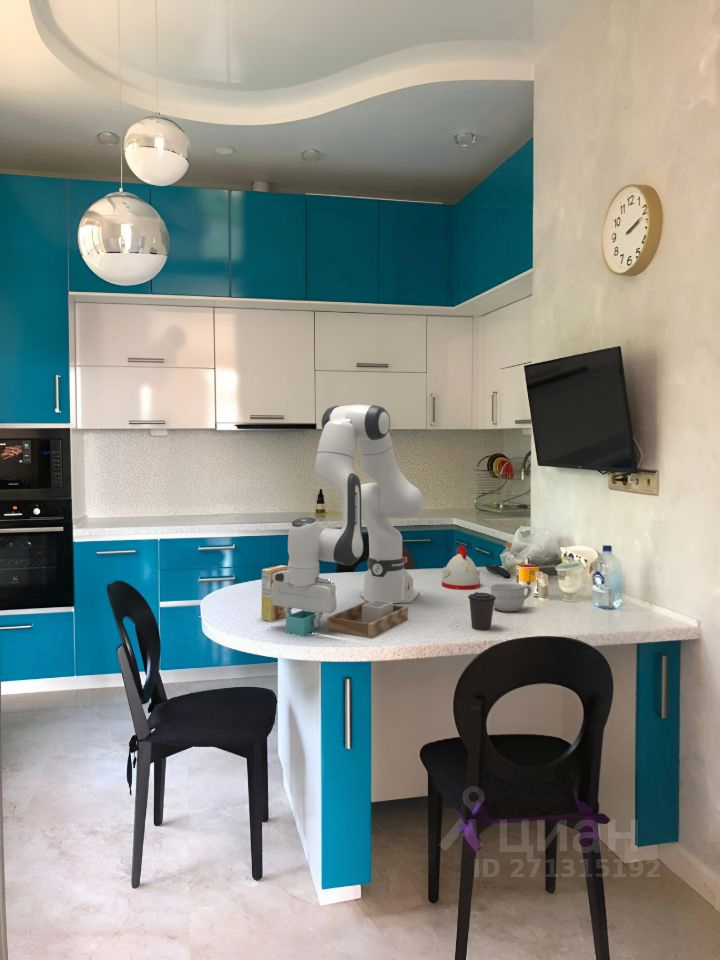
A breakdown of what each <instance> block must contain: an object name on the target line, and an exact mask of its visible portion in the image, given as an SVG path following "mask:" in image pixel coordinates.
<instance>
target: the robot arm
mask: <svg viewBox="0 0 720 960" xmlns="http://www.w3.org/2000/svg"><path fill="white" fill-rule="evenodd" d="M390 427H391V417H390V414H389V413H388V411H387V410H386V408H384V407H382V406H380V405H375V404H372V405H369V404H368V405H367V404H350V405H341V406H340V405H335V406H331V407H328V408H327V409H326V410H325V411H324V413H323V414H322V417H321V429H322V431H321V436H320V437H319V441H318V447H317V451H316V457H315V463H314V465H315V466H314V468H315V469H314V470H315V473H316V475H317V477H318V479H319V480H321V482H322V483H323V484H325V485H326V486H328V487H330V488H332V489H333V490H335V491H337V492H338V493H339V495H340V496H341V499H342V507H343V508H342V509H343V512H342V521H343V522H342V523H343V524H342V527H341V528H335V527H333V528H332V527H325V526H322V525H321V524H319V523H318V520H317V518H314V517H307V516H306V517H299V518H296V519H294V520H292V521H291V522H290V525H289V529H288V537H287V553H288V556H289V557H288V564H287V566H288V569H286V570H283V571H280V572H277V573H274V574H273V576H272V578H273V581H274V582H273V583H272V586H271V602H272V604H273V605H276V606H282V607H284V611H285V613H286V615H287V616H288V615H291V614H293V612H292V610H293V609H295V610H296V609H297V610H300V611H301V610H306V611H312V612H315V615H317V616H316V618H315V619H314V620H312V621H311V623H312V625H311V626H312V627H318V626H319V620H320V621H321V618H322V617H323V614H327V615H328V614H332V613H333V612H335V611H336V610H337V608H338V607H337V605H338V604H337V595H336V584H335V583H334V582H333V581H332V580H331V579H330V578H329V579H328V578H327V579H326V578H323V577H321V578H320V562H319V561H322V562H329V563H337V564H339V565H344V566H347V567H348V566H352V565H354V564H355V563H357V561H359V560H360V559H361V557H362V555H363V553H364V550H365V549H364V538H363V537H364V536H363V530H362V521H363V522H364V525H365V527H366V530H367V534H368V548H369V549H368V550H369V551H368V553H369V555H368V557H367V568H368V569H367V570H366V571H365V573H364V576H363V586H362V587H363V590H362V592H360V593H359V597H362V598H363V600H365V602H366V601H368V602H371V601H374V600H380V601H388V602H393V604H399V603H400V604H401V603H405V604H406V603H412V601H414V600H415V599H416V598H417V597H418V596H419V595H420V593H421V592H420V590H418V589H415V588H414V578H413V577H412V575H410V573H409V572H408V571H407V569H405V564H407V562H408V556H403V536H402V534H401V532H400V530H398V529H397V528H395V527H394V526H393V525H392V524H391V522H390V520H389V518H400V519H401V518H402V519H403V518H404V519H405V518H411V517H417V516H418V515H419V514H420V512H421V511H422V509H423V506H424V497H423V493H422V491H421V490H420V489H419V488H418V487H416V486H415V485H414V484H412V483H411V482H409V481H408V479H407V478H406V476H404V474H403V472H401V470H400V468H399V465H398V463H397V459H396V455H395V452H394V448H393V447H394V446H393V442H392V438H391V435H390ZM356 443H357V449H358V454H359V457H360V458H359V459H360V463H361V467H362V471H363V473H364V474H365V476H367V478H369V479H370V480H372V481H373V482H368V483H361V479H360V477H359V476H358V475H357V474H356V472H355V469H354V459H355V453H356V452H355V450H356ZM318 628H319V627H318Z"/></svg>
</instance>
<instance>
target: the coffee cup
mask: <svg viewBox="0 0 720 960" xmlns="http://www.w3.org/2000/svg"><path fill="white" fill-rule="evenodd" d="M467 598H468V599H469V609H470V621H471V628H472V629H473V630H477V631H489V630H491V629H492V628H491V627H492V620H493V612H494V600H496V598H495V596H494V595H491V593H487V592H479V591H477V592H474V593H471V594H469V595H468V596H467Z"/></svg>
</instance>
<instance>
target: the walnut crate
mask: <svg viewBox="0 0 720 960" xmlns="http://www.w3.org/2000/svg"><path fill="white" fill-rule="evenodd" d="M369 602H370V601H366V600H365V601H364V602H362V603H358V604H357V605H353V606H352V607H349V608H347V609H345V610H343V611H340V612H338V613H335V614H333V615H330V616H328V617H326V631H327V632H332V633H337V634H343V635H348V636H355V637H361V638H367V639H373V638H375V637H376V636H378V635H381V634H382V633H384V632H386V631H389V630H390V629H392V628H394V627H397V626H398V625H400V624H403V622H406V621H409V619H408V618H409V616H408V615H409V607H408V606H403V605H397V604H396V605H395V604H393V613H391V614H388V615H386V616H384V617H382V618H380V619H378V620H376V621H374V622H372V623H365V622H362V605H364V604H367V603H369Z"/></svg>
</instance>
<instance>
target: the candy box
mask: <svg viewBox="0 0 720 960" xmlns="http://www.w3.org/2000/svg"><path fill="white" fill-rule="evenodd" d="M286 569H288V565H281V564H280V565H277V566H271V567H267V568H263V569H261V615H260V616H261V620H262V619H263V620H262V621H266V620H267V622H273V621H277V620H280V619H285V618H286V616H287V615H286V613H285V611H284V607H282V606H276V605H273V604H272V602H271V586H272V583H273V582H274V581H273V578H272V576H273V574H274V573H277V572H280V571H283V570H286Z"/></svg>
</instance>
